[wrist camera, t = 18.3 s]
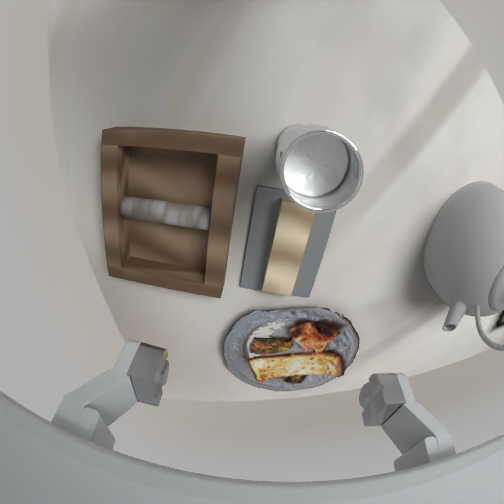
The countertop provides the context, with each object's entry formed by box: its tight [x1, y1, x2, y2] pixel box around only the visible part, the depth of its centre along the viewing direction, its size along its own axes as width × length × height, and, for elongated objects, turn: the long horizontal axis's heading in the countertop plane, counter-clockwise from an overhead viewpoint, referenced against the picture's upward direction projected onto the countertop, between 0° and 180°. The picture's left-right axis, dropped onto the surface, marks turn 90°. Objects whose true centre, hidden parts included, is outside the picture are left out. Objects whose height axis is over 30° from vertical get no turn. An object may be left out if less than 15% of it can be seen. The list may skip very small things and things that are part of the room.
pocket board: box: [101, 127, 246, 298], centre depth 36 cm, size 22×18×4 cm
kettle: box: [423, 181, 504, 351], centre depth 28 cm, size 25×23×23 cm
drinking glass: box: [275, 124, 364, 213], centre depth 26 cm, size 7×7×15 cm
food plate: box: [223, 307, 359, 391], centre depth 49 cm, size 25×23×4 cm
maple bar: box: [262, 197, 315, 296], centre depth 39 cm, size 14×4×2 cm, turn 170°
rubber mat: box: [240, 185, 336, 297], centre depth 40 cm, size 16×11×1 cm
